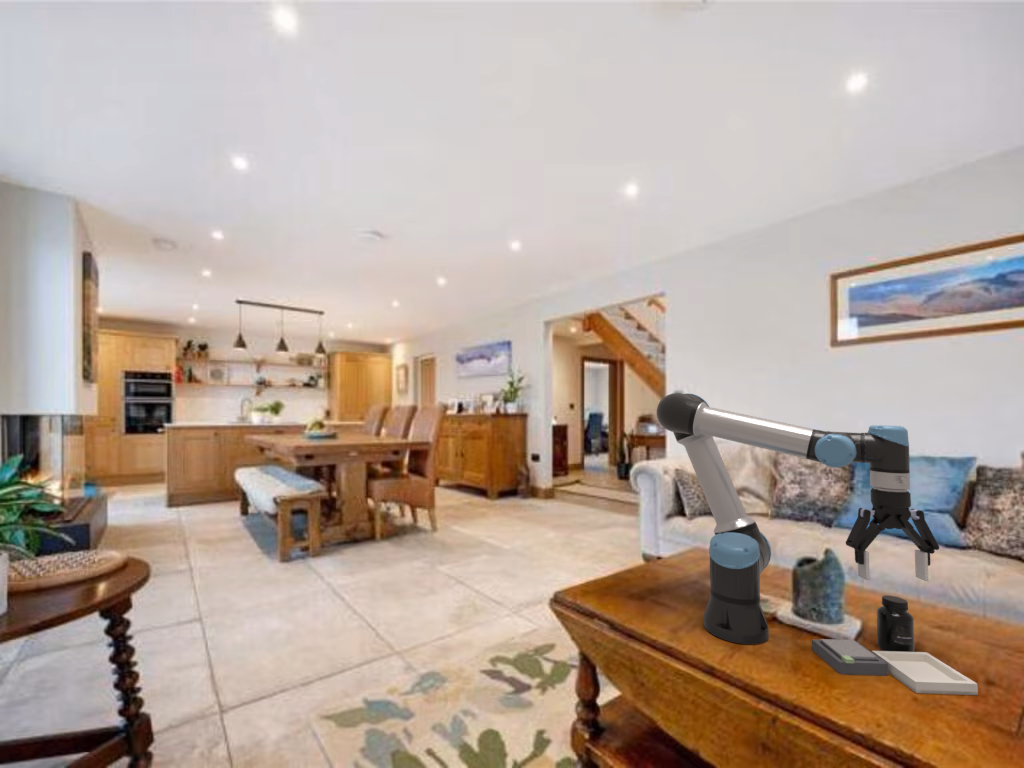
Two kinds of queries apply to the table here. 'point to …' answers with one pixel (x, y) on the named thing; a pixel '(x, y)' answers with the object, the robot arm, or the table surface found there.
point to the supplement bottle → (895, 625)
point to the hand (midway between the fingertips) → (892, 578)
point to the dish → (926, 673)
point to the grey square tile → (848, 649)
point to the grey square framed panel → (850, 662)
